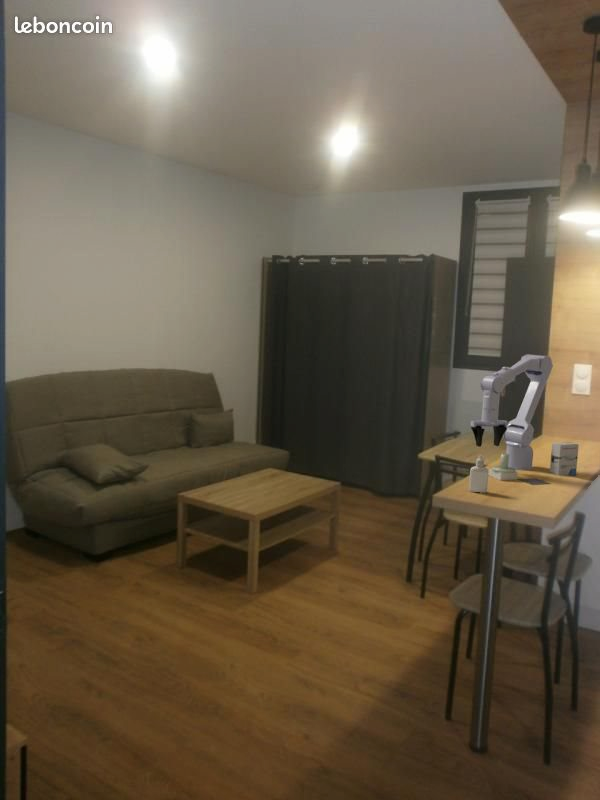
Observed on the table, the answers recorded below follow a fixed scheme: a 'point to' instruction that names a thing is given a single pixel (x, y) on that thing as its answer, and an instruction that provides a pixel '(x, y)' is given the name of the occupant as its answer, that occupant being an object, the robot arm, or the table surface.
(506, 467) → the lid
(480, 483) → the eye dropper bottle
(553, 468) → the ink box
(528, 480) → the mat
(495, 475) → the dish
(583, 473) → the table surface
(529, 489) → the table surface
